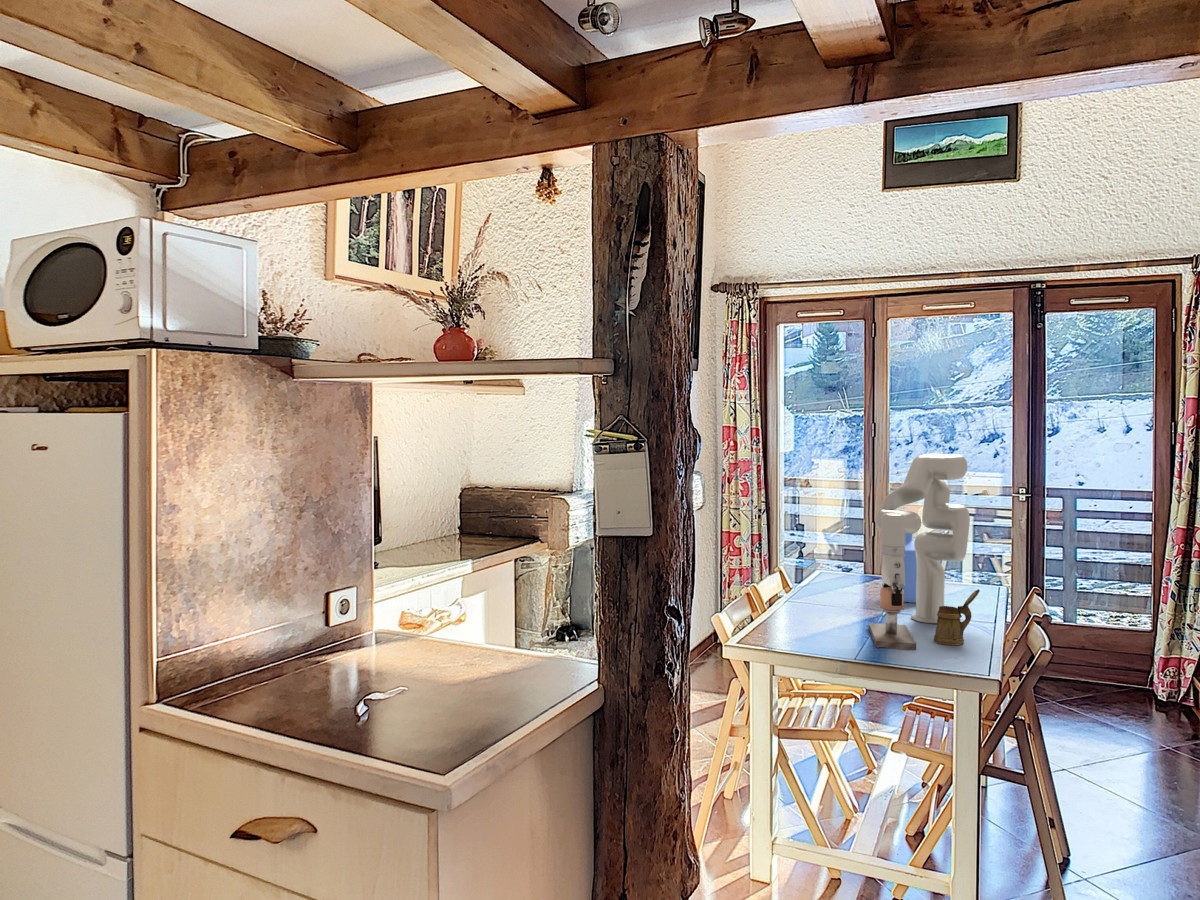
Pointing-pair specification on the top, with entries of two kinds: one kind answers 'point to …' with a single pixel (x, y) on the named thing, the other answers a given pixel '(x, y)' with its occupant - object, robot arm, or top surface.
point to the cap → (889, 599)
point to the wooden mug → (953, 622)
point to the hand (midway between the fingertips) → (891, 602)
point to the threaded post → (891, 621)
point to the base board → (892, 637)
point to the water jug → (910, 570)
